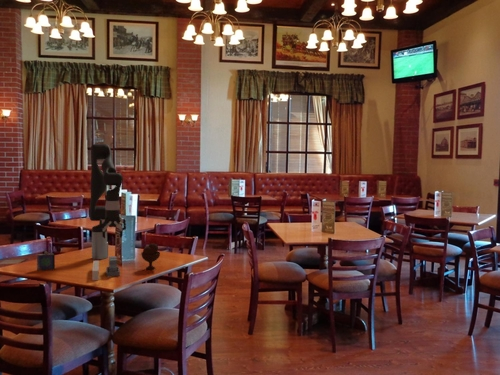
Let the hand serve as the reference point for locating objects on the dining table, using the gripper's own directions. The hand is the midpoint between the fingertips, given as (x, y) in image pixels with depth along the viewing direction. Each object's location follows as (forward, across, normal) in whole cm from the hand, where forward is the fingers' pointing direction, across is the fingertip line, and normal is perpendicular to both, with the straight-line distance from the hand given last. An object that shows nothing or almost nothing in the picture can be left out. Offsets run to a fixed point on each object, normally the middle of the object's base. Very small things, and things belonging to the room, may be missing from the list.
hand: (112, 237), depth 250 cm
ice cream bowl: (+20, -22, -5) cm, 30 cm away
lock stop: (+20, 0, 0) cm, 20 cm away
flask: (+20, +36, -18) cm, 45 cm away
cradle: (+20, 0, +1) cm, 20 cm away
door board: (+20, +9, 0) cm, 22 cm away
